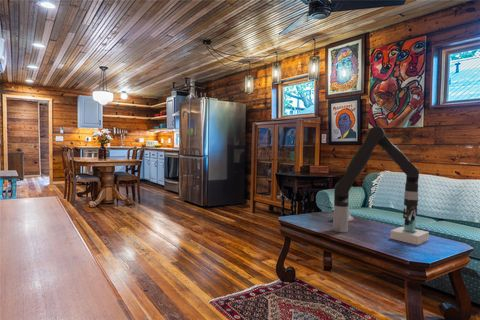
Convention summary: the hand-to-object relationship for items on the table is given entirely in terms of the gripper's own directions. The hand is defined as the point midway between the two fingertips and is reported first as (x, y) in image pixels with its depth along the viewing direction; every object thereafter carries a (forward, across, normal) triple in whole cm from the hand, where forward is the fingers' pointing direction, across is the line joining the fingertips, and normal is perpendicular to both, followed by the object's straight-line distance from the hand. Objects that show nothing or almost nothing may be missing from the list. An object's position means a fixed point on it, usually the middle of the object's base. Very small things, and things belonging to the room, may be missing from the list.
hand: (409, 224), depth 193 cm
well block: (+10, 0, 0) cm, 10 cm away
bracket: (+8, 0, 0) cm, 8 cm away
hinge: (+10, -11, -53) cm, 55 cm away
